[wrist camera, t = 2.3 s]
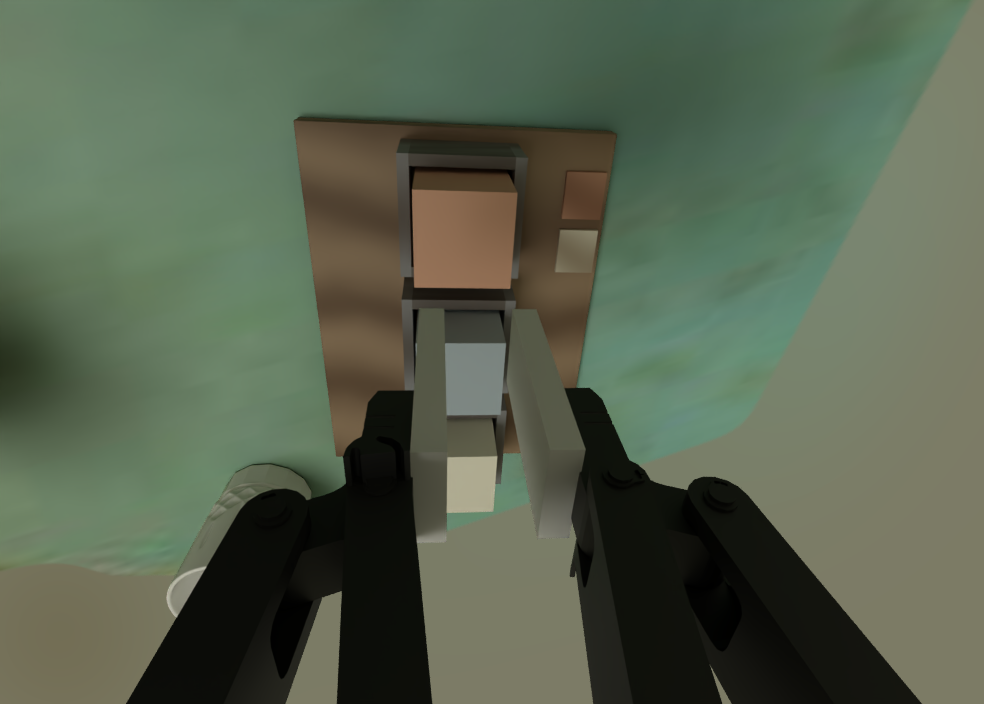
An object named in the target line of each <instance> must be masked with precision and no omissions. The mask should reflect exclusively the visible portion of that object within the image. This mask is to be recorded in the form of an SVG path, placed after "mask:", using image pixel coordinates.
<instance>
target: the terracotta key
mask: <svg viewBox="0 0 984 704" xmlns="http://www.w3.org/2000/svg"><path fill="white" fill-rule="evenodd" d="M517 194H518V193H517V191H516V189H515V187H514V185H513V182H512V180H511V178H510V176H509V174H508V172H507V170H506V169H482V168H454V167H426V166H416V168H415V174H414V180H413V187H412V210H413V253H414V288H491V289H510V285H511V272H512V259H513V246H514V233H515V220H516V207H517Z"/></svg>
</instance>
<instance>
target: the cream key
mask: <svg viewBox="0 0 984 704" xmlns="http://www.w3.org/2000/svg"><path fill="white" fill-rule="evenodd" d="M496 467H497V450H496V443H495V436H494V429H493V422H492V418H452V419H447V513H458V512H491V511H493V506H494V493H495V480H496Z"/></svg>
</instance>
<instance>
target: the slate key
mask: <svg viewBox="0 0 984 704" xmlns="http://www.w3.org/2000/svg"><path fill="white" fill-rule="evenodd" d="M418 322H419V309H418V317H417V331H416V353H417V337H418ZM444 325H445V367H446V410H447V415H501V402H502V389H503V376H504V363H505V350H506V341H505V337H504V332H503V327H502V323H501V318H500V314H499V310H444Z"/></svg>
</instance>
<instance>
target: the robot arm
mask: <svg viewBox="0 0 984 704" xmlns="http://www.w3.org/2000/svg"><path fill="white" fill-rule="evenodd" d="M507 386H508V391H509V396H510V401H511V406H512V411H513V416H514V422H515V427H516V432H517V437H518V442H519V447H520V452H521V457H522V462H523V468H524V473H525V478H526V483H527V488H528V493H529V498H530V503H531V508H532V513H533V519H534V524H535V529H536V533H537V538H538V539H546V538H569V535H570V530H571V525H572V523H573V527H574V530H575V534H576V538H577V539H576V544H575V549H574V554H573V559H572V564H571V570H570V577H574V576H575V572H576V574H577V582H578V590H579V597H580V604H581V612H582V620H583V628H584V636H585V643H586V651H587V659H588V667H589V674H590V681H591V689H592V697H593V704H722V701H721V698H720V695H719V692H718V689H717V686H716V683H715V679H714V676H713V673H712V670H711V667H712V669H713V671H714V673H715V674H716V676H717V678H718V680H719V682H720V683H721V685H722V687H723V689H724V690H725V692H726V694H727V696H728V698H729V700H730V701H731V703H732V704H922V703H921V702H920V701H919V700H918V699H917V697H916V696H915V695H914V694H913V693H912V691H911V690H910V689H909V688H908V687H907V685H906V684H905V683H904V682H903V681H902V680H901V678H900V677H899V676H898V675H897V673H896V672H895V671H894V670H893V669H892V667H891V666H890V665H889V664H888V663H887V661H886V660H885V659H884V658H883V657H882V656H881V654H880V653H879V652H878V651H877V650H876V648H875V647H874V646H873V645H872V644H871V642H870V641H869V640H868V639H867V637H865V635H864V634H863V633H862V631H861V630H860V629H859V628H858V627H857V625H856V624H855V623H854V622H853V621H852V620H851V619H850V617H849V616H848V615H847V614H846V612H845V611H844V610H843V609H842V608H841V606H840V605H839V604H838V603H837V602H836V600H835V599H834V598H833V597H832V596H831V594H830V593H829V592H828V591H827V590H826V588H825V587H824V586H823V585H822V584H821V582H820V581H819V580H818V579H817V578H816V576H815V575H814V574H813V573H812V572H811V571H810V569H809V568H808V567H807V566H806V565H805V563H804V562H803V561H802V560H801V558H800V557H799V556H798V555H797V554H796V552H795V551H794V550H793V549H792V548H791V546H790V545H789V544H788V543H787V542H786V541H785V539H784V538H783V537H782V536H781V534H780V533H779V532H778V531H777V530H776V529H775V527H774V526H773V525H772V524H771V523H770V521H769V520H768V519H767V518H766V517H765V515H764V514H763V513H762V512H761V511H760V509H759V508H758V507H757V506H756V505H755V503H754V502H753V501H752V500H751V499H750V497H749V496H748V495H747V494H746V493H745V492H744V491H743V490H741V489H740V488H739V487H738V486H736V485H734V484H732V483H731V482H729V481H727V480H723V479H720V478H716V477H701V478H698V479H695V480H693V482H692V483H691V484H690V485H689V487H688V490H684V489H680V488H675V487H670V486H666V485H662V484H659V483H656V482H653V481H651V480H650V478H649V477H648V475H647V473H646V472H645V470H644V469H642V468H641V467H640V466H639V465H638V464H636V463H634V462H632V461H630V460H629V459H628V457H627V454H626V452H625V450H624V448H623V445H622V443H621V441H620V439H619V436H618V434H617V432H616V430H615V427H614V425H613V424H612V421H611V418H610V416H609V414H608V413H607V409H606V407H605V405H604V402H603V400H602V399H601V398H600V397H599V396H598V395H597V394H596V393H595V392H594V391H593V390H591V389H590V388H564V387H563V384H562V381H561V378H560V375H559V372H558V370H557V367H556V364H555V361H554V358H553V355H552V352H551V350H550V347H549V344H548V341H547V338H546V335H545V333H544V330H543V327H542V324H541V321H540V318H539V315H538V313H537V310H536V309H512V321H511V333H510V346H509V358H508V370H507ZM343 460H344V469H345V477H346V484H345V485H344V486H343V487H341V488H339V489H338V490H336V491H334V492H332V493H329V494H326V495H323V496H320V497H316V498H312V499H309V500H306V498H305V497H304V496H303V495H302V494H300V493H299V492H298V491H294V490H290V489H286V488H285V489H272V490H269V491H266V492H263V493H260V494H258V495H256V496H255V497H253V498H252V499H250V500H249V501H247V502H246V503H245V505H244V506H243V507H242V508H241V509H240V510H239V512H238V514H237V515H236V517H235V519H234V521H233V522H232V524H231V526H230V527H229V529H228V531H227V533H226V534H225V536H224V538H223V539H222V541H221V543H220V544H219V546H218V548H217V550H216V551H215V553H214V555H213V556H212V558H211V560H210V562H209V563H208V565H207V567H206V568H205V570H204V572H203V573H202V575H201V577H200V579H199V580H198V582H197V584H196V585H195V587H194V589H193V591H192V592H191V594H190V596H189V597H188V599H187V601H186V602H185V604H184V606H183V608H182V609H181V611H180V613H179V614H178V616H177V618H176V620H175V621H174V623H173V625H172V626H171V628H170V630H169V632H168V633H167V635H166V637H165V638H164V640H163V642H162V643H161V645H160V647H159V649H158V650H157V652H156V654H155V656H154V657H153V659H152V661H151V662H150V664H149V666H148V667H147V669H146V671H145V672H144V674H143V676H142V678H141V679H140V681H139V683H138V684H137V686H136V688H135V689H134V691H133V693H132V695H131V696H130V698H129V700H128V701H127V703H126V704H285V703H286V700H287V698H288V695H289V692H290V689H291V686H292V683H293V680H294V677H295V675H296V672H297V669H298V666H299V663H300V660H301V657H302V655H303V652H304V649H305V646H306V643H307V640H308V637H309V634H310V631H311V629H312V626H313V623H314V620H315V617H316V614H317V611H318V609H319V605H320V603H321V600H322V597H325V596H328V595H331V594H334V593H337V592H340V591H342V603H341V623H340V624H341V625H340V646H339V668H338V690H337V704H432V697H431V685H430V675H429V665H428V654H427V644H426V634H425V623H424V613H423V602H422V591H421V581H420V570H419V560H418V549H417V543H433V542H446V526H447V410H446V367H445V325H444V308H419V322H418V337H417V353H416V368H415V384H414V390H380V391H377V392H376V394H375V395H374V396H373V397H372V398H371V399H370V401H369V402H368V405H367V411H366V418H365V421H364V429H363V432H362V436H361V437H359V438H357V439H355V440H354V441H353V442H352V443H351V444H350V445H349V446H348V447H347V448H346V450H345V452H344V455H343ZM710 666H711V667H710Z"/></svg>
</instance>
